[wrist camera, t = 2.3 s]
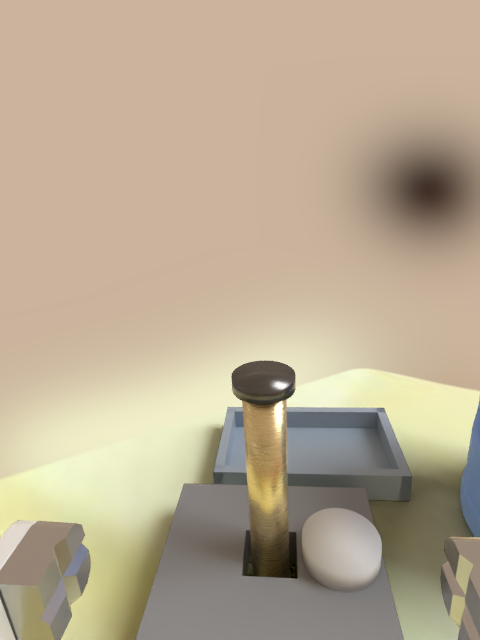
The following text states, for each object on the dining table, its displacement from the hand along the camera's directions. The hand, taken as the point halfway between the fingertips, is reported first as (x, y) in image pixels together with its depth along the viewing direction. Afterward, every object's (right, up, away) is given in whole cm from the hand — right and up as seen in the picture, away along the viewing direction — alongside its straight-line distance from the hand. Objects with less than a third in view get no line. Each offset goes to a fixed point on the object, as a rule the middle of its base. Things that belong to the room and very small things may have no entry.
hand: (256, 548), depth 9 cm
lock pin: (+2, -13, +18) cm, 22 cm away
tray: (+6, -8, +30) cm, 32 cm away
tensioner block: (+2, -13, +18) cm, 22 cm away
